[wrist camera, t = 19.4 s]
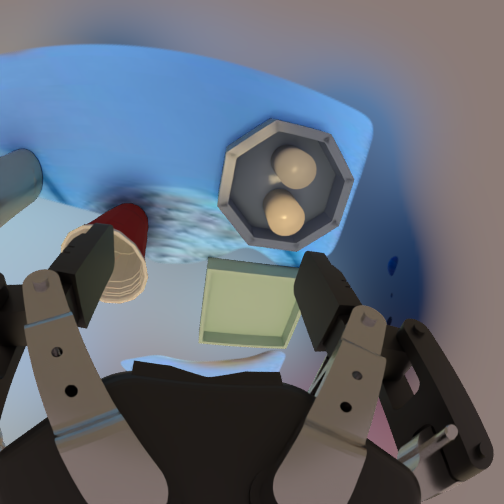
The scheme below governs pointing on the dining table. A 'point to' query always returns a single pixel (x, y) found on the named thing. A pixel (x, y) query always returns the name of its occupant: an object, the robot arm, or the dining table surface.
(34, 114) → the dining table surface
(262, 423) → the robot arm
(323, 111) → the dining table surface
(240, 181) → the bowl
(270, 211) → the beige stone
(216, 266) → the tray
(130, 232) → the plastic cup
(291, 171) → the beige rounded piece
